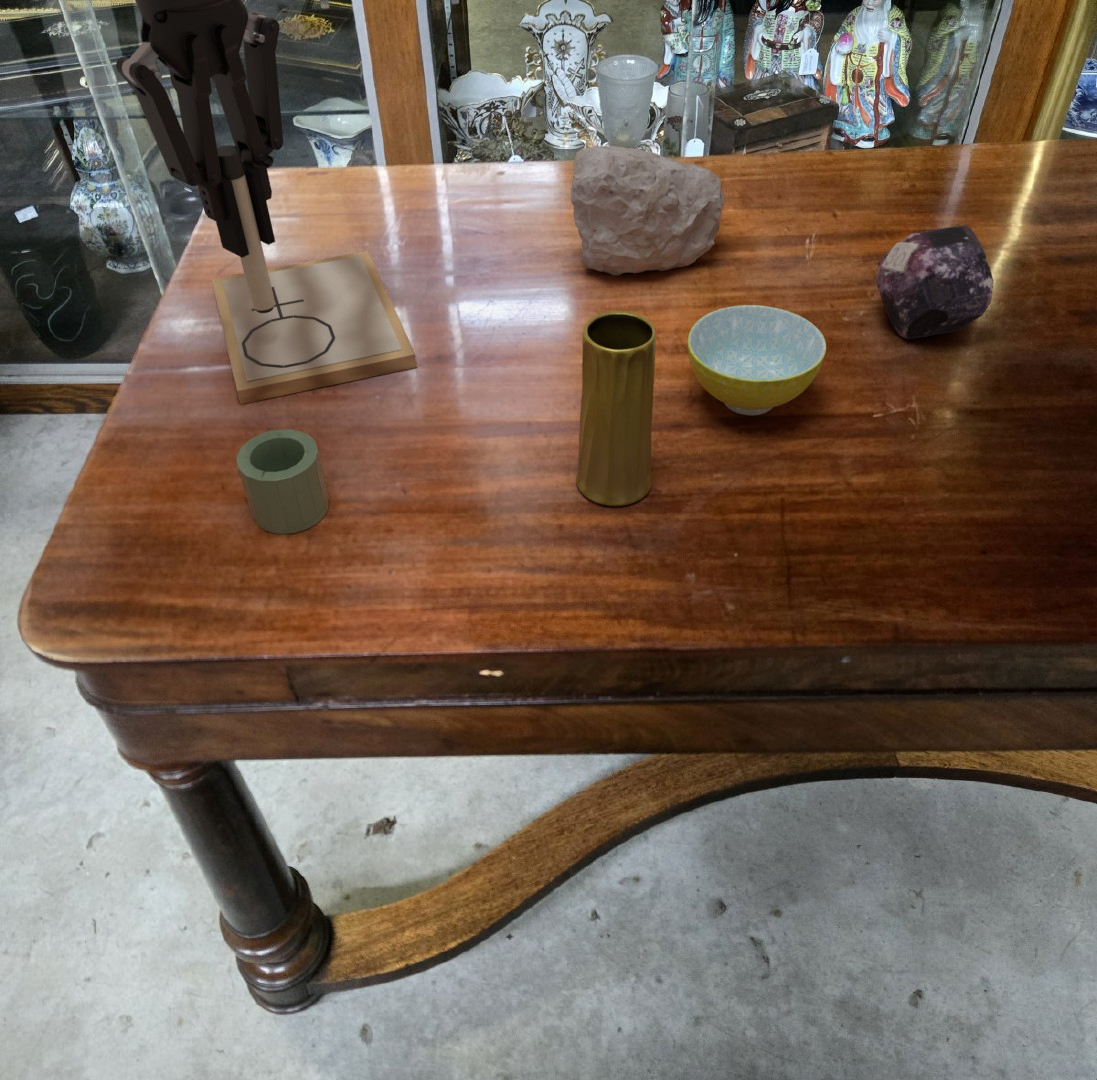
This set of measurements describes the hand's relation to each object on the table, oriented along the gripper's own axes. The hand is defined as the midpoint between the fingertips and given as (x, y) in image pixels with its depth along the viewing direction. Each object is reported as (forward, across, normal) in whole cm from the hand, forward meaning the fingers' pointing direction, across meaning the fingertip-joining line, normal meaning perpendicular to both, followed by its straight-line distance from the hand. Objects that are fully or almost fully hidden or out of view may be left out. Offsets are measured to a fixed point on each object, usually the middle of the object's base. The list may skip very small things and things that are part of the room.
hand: (249, 244), depth 89 cm
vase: (+12, +6, -35) cm, 38 cm away
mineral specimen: (+12, +43, -44) cm, 62 cm away
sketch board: (+11, +5, +1) cm, 12 cm away
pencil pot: (+11, -13, -18) cm, 24 cm away
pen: (+6, 0, 0) cm, 6 cm away
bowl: (+12, +22, -38) cm, 45 cm away
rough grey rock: (+12, +35, -16) cm, 41 cm away
